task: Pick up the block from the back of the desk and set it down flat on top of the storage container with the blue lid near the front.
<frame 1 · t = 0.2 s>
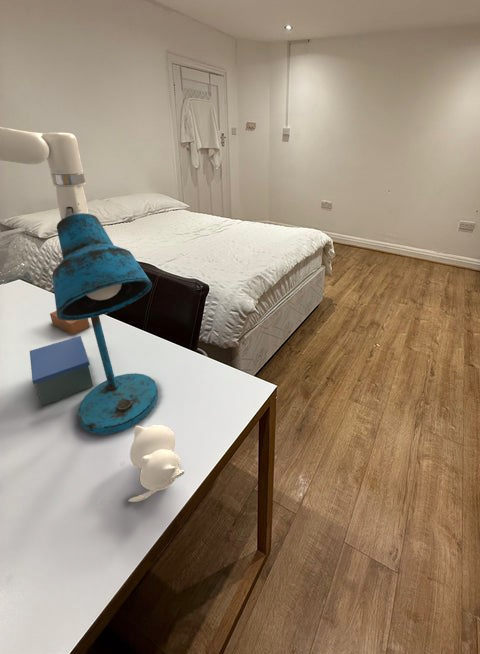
hand: (81, 237, 96), 28 cm above the table, tool pointing down, fingers open, 9 cm apart
cat figurine: (154, 473, 60), on the table
container: (65, 380, 80), on the table
block: (71, 325, 102), on the table
desk lamp: (124, 409, 74), on the table
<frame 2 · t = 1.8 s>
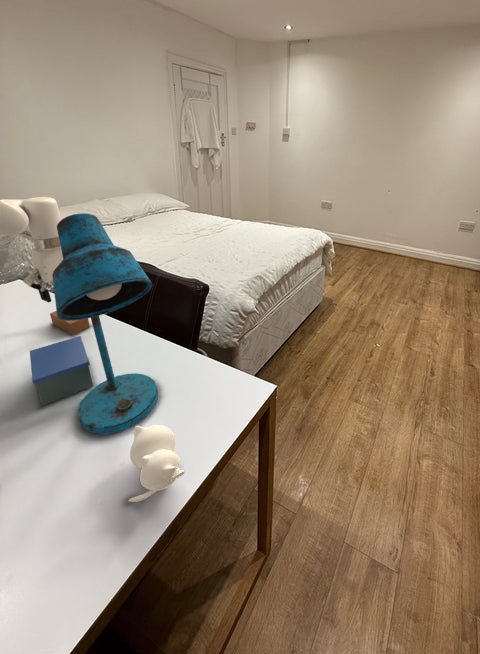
hand: (65, 293, 98), 11 cm above the table, tool pointing down, fingers open, 9 cm apart
nothing on the table moved.
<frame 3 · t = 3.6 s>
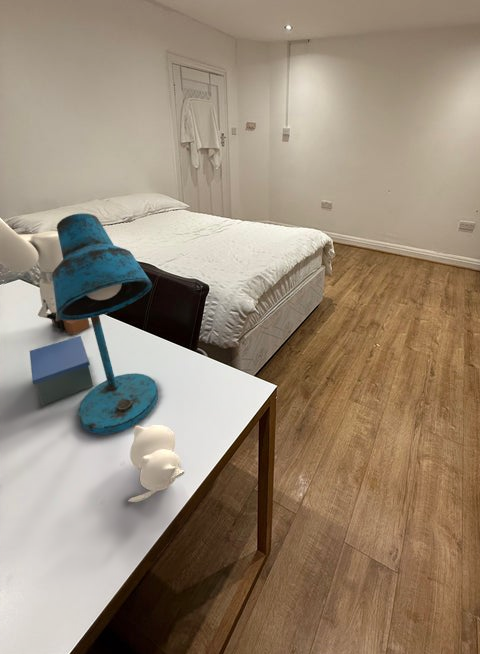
hand: (70, 324, 101), 0 cm above the table, tool pointing down, fingers closed on block, 5 cm apart
block: (71, 325, 102), on the table, touching gripper
everything else where it was.
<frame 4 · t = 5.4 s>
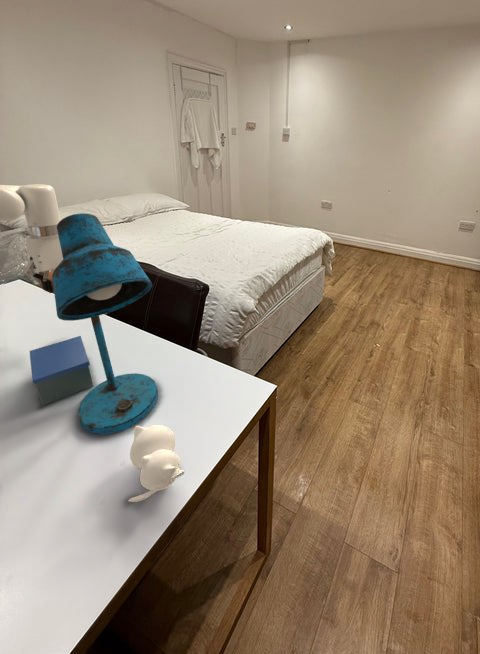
hand: (59, 287, 96), 14 cm above the table, tool pointing down, fingers closed on block, 5 cm apart
block: (59, 288, 96), point 13 cm above the table, touching gripper
everything else where it was.
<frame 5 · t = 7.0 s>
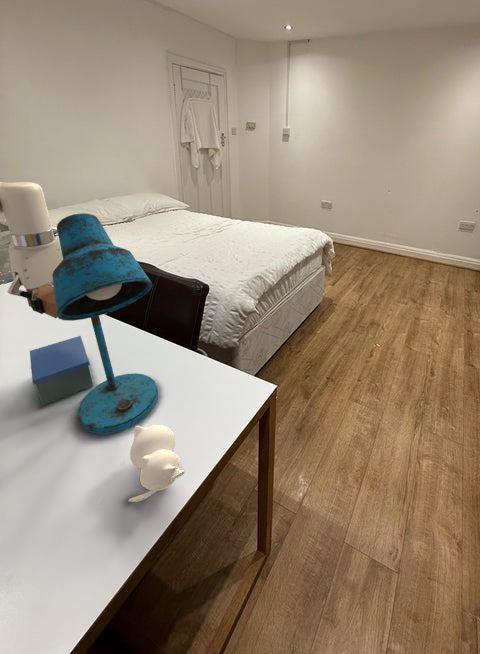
hand: (52, 306, 80), 17 cm above the table, tool pointing down, fingers closed on block, 5 cm apart
block: (53, 307, 80), point 17 cm above the table, touching gripper
everything else where it was.
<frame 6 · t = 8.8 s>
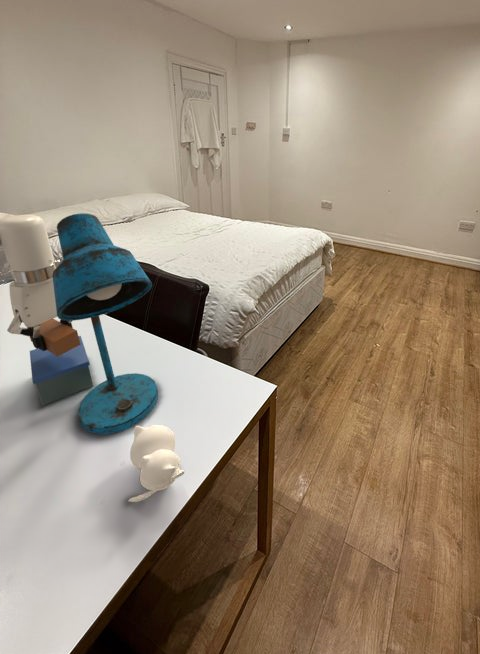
hand: (55, 341, 76), 12 cm above the table, tool pointing down, fingers closed on block, 5 cm apart
block: (55, 342, 76), point 12 cm above the table, touching gripper
everything else where it was.
when the fingers open (8 cm above the table, at t = 10.3 s): block stays where it is, resting on container.
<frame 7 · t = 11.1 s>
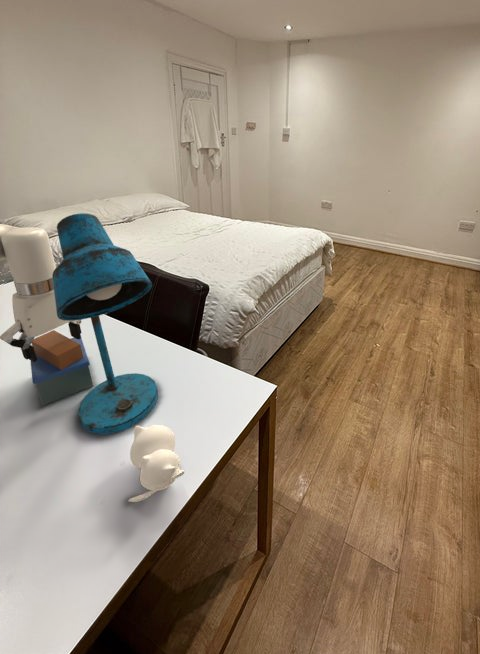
hand: (55, 347, 77), 10 cm above the table, tool pointing down, fingers open, 9 cm apart
block: (59, 355, 78), point 8 cm above the table, touching container
everything else where it was.
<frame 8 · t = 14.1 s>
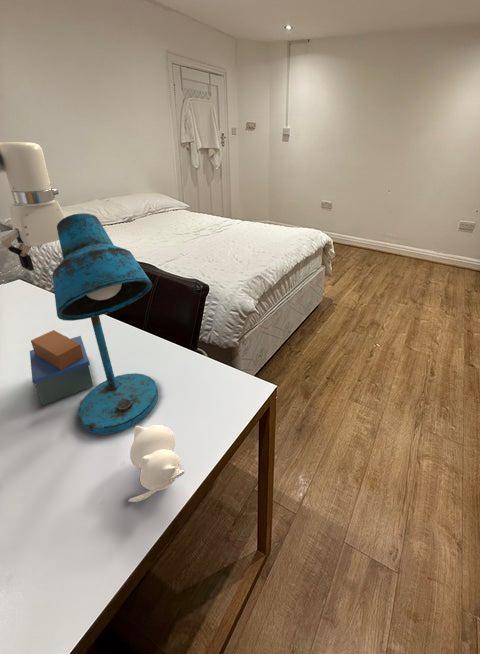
hand: (50, 262, 83), 26 cm above the table, tool pointing down, fingers open, 9 cm apart
nothing on the table moved.
at the end: block 0.1 cm off-centre on the container, point 7.7 cm above the container's base; block tilted 0°; the gripper is holding nothing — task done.
